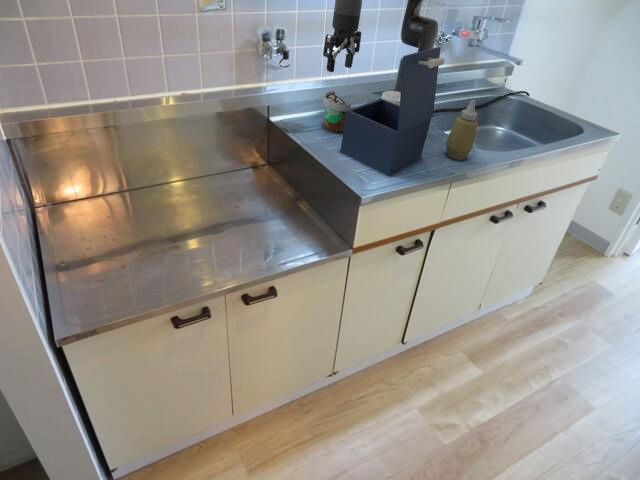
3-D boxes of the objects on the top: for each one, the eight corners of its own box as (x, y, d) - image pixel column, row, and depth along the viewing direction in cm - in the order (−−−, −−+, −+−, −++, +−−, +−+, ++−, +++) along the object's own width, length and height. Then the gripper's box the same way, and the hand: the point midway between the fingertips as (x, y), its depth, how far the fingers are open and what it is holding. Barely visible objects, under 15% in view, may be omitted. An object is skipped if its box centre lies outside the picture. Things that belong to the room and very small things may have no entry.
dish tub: (340, 151, 141) (346, 110, 133) (373, 137, 152) (381, 98, 144) (388, 176, 132) (398, 133, 124) (420, 158, 143) (431, 118, 135)
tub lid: (403, 55, 115) (422, 58, 112) (438, 46, 125) (456, 48, 122) (397, 131, 124) (415, 135, 121) (430, 116, 135) (447, 120, 132)
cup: (390, 123, 162) (397, 89, 155) (407, 134, 156) (415, 99, 149) (369, 127, 158) (376, 92, 151) (386, 138, 152) (393, 102, 145)
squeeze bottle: (459, 149, 152) (476, 94, 141) (473, 161, 146) (493, 105, 135) (438, 150, 149) (454, 95, 138) (452, 163, 143) (470, 106, 132)
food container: (314, 120, 157) (317, 91, 151) (330, 119, 159) (334, 90, 153) (329, 136, 148) (333, 106, 142) (347, 135, 151) (351, 105, 145)
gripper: (341, 16, 126) (333, 77, 135) (372, 12, 135) (363, 69, 145) (320, 9, 129) (314, 69, 139) (352, 6, 139) (344, 62, 148)
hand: (339, 69), depth 142 cm, fingers open, 8 cm apart
